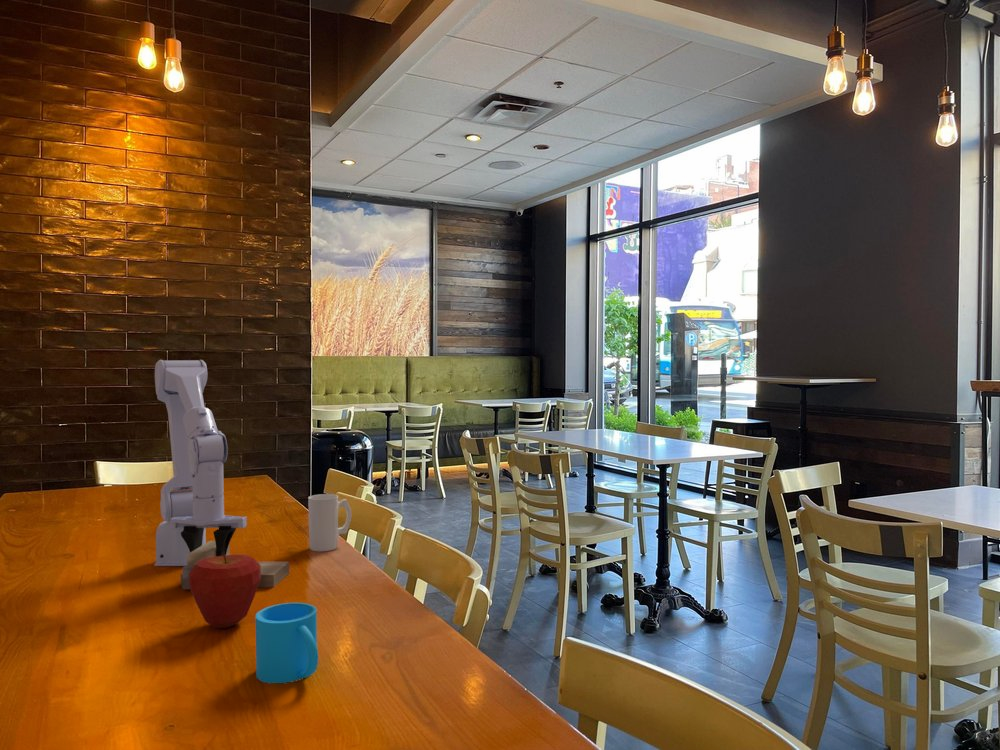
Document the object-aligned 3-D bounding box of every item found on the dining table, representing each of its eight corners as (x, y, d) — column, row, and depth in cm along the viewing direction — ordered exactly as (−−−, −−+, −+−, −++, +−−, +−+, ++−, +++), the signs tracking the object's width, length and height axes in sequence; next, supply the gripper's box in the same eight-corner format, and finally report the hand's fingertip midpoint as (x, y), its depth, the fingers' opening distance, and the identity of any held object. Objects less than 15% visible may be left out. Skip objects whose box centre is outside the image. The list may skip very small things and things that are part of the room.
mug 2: (312, 553, 158) (312, 500, 158) (305, 546, 164) (304, 495, 164) (356, 547, 163) (355, 496, 163) (347, 541, 169) (346, 491, 169)
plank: (181, 587, 135) (180, 574, 135) (202, 573, 144) (202, 561, 144) (273, 587, 134) (273, 574, 134) (289, 573, 143) (289, 561, 143)
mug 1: (245, 670, 98) (245, 612, 98) (299, 653, 103) (298, 598, 103) (287, 699, 89) (286, 636, 89) (343, 679, 95) (342, 619, 95)
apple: (217, 643, 107) (216, 565, 107) (175, 630, 113) (173, 555, 113) (275, 620, 116) (274, 548, 116) (233, 609, 122) (232, 540, 122)
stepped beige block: (182, 589, 132) (182, 557, 132) (210, 569, 144) (210, 540, 144) (203, 589, 132) (202, 557, 132) (229, 569, 144) (229, 540, 144)
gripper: (161, 499, 135) (163, 569, 135) (236, 499, 135) (237, 569, 135) (179, 492, 142) (180, 559, 142) (250, 492, 142) (251, 559, 142)
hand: (209, 564), depth 139 cm, fingers closed on stepped beige block, 4 cm apart
